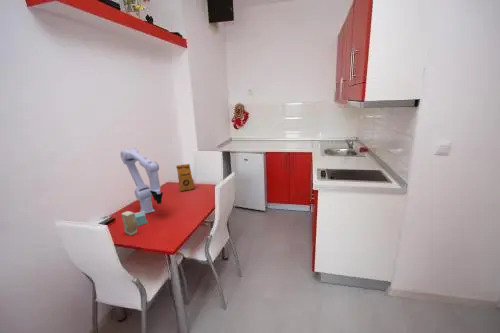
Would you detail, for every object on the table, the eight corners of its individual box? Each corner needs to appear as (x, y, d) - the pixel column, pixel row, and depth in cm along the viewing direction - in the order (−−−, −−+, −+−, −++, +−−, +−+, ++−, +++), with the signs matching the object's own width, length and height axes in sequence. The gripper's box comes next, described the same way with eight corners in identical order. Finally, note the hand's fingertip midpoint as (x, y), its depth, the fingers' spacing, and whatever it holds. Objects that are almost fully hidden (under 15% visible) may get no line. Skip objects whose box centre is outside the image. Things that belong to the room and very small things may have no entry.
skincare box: (124, 233, 139) (120, 213, 135) (131, 229, 142) (127, 210, 139) (131, 235, 135) (126, 215, 132) (138, 232, 138) (134, 212, 135)
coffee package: (194, 190, 202) (191, 164, 197) (179, 192, 200) (175, 166, 194) (194, 186, 212) (191, 162, 206) (179, 188, 209) (176, 164, 204)
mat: (134, 222, 151) (134, 222, 151) (145, 219, 155) (145, 218, 155) (136, 226, 145) (136, 226, 145) (148, 223, 149) (148, 222, 149)
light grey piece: (125, 222, 152) (123, 216, 151) (145, 216, 159) (144, 210, 158) (128, 230, 142) (127, 223, 141) (149, 223, 148) (148, 217, 147)
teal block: (136, 222, 151) (134, 214, 149) (144, 219, 153) (143, 212, 152) (137, 225, 146) (136, 217, 145) (146, 222, 149) (144, 215, 148)
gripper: (145, 180, 156) (148, 200, 159) (150, 185, 144) (154, 206, 147) (156, 178, 160) (159, 197, 163) (162, 183, 148) (165, 203, 151)
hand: (157, 201), depth 155 cm, fingers open, 7 cm apart
